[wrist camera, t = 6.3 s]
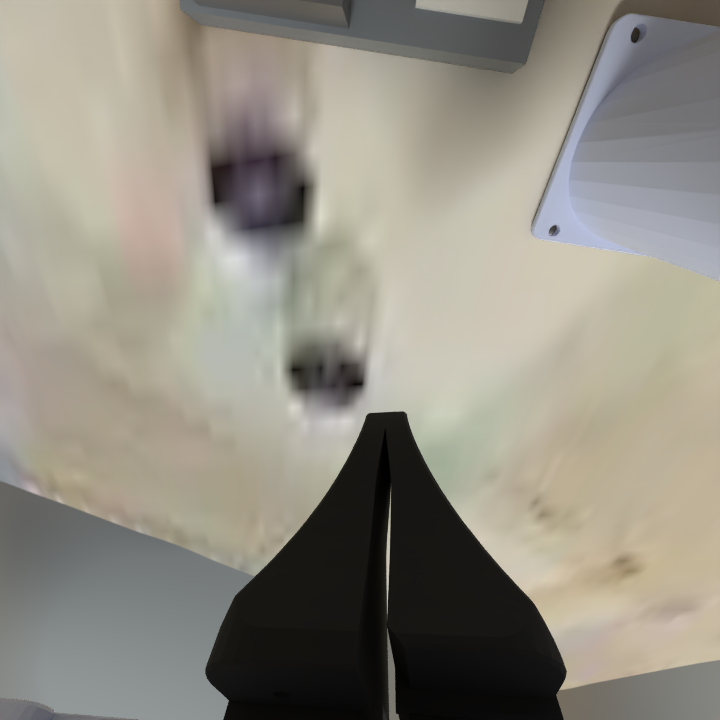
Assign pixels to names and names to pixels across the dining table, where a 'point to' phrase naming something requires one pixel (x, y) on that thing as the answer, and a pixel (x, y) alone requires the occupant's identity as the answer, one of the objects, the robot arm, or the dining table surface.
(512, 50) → the button board
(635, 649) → the dining table surface
